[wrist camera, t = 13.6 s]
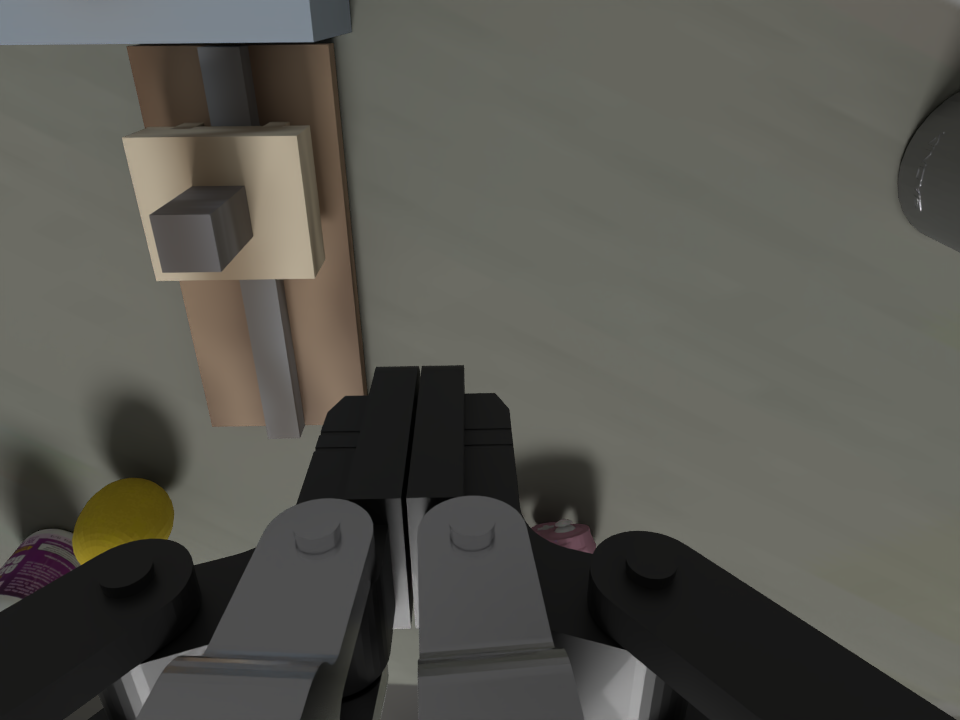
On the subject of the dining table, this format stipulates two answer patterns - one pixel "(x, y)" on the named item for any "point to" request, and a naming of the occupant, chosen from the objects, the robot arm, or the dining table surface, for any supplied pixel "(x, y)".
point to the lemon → (122, 517)
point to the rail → (309, 298)
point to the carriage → (228, 201)
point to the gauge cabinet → (171, 21)
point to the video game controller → (567, 535)
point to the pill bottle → (36, 565)
